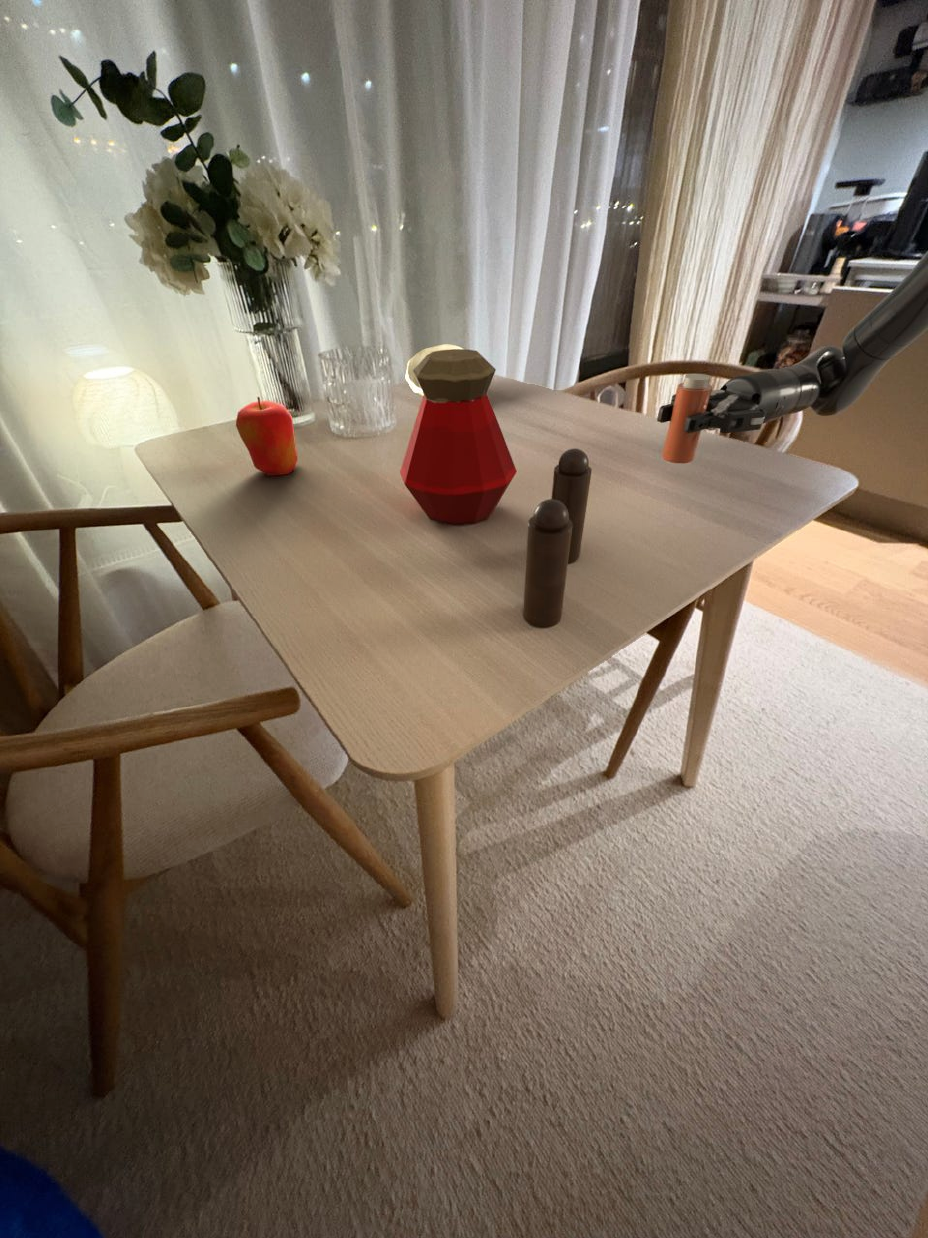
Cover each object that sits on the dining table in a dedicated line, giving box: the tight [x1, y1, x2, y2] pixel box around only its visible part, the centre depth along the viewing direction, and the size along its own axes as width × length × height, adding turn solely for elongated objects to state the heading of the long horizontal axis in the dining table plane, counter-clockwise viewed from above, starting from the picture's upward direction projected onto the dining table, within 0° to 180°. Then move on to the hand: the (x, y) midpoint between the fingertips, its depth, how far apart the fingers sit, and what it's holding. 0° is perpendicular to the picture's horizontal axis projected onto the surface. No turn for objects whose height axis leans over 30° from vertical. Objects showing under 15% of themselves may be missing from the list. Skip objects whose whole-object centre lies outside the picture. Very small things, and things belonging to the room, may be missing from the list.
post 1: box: [522, 498, 573, 629], centre depth 48 cm, size 4×4×13 cm
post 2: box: [551, 447, 593, 565], centre depth 56 cm, size 4×4×13 cm
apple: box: [235, 396, 298, 476], centre depth 79 cm, size 9×8×12 cm
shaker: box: [661, 373, 713, 464], centre depth 70 cm, size 4×4×11 cm
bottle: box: [399, 348, 517, 527], centre depth 63 cm, size 16×14×20 cm
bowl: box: [405, 343, 463, 397], centre depth 104 cm, size 15×14×10 cm
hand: (673, 419), depth 69 cm, fingers closed on shaker, 4 cm apart
